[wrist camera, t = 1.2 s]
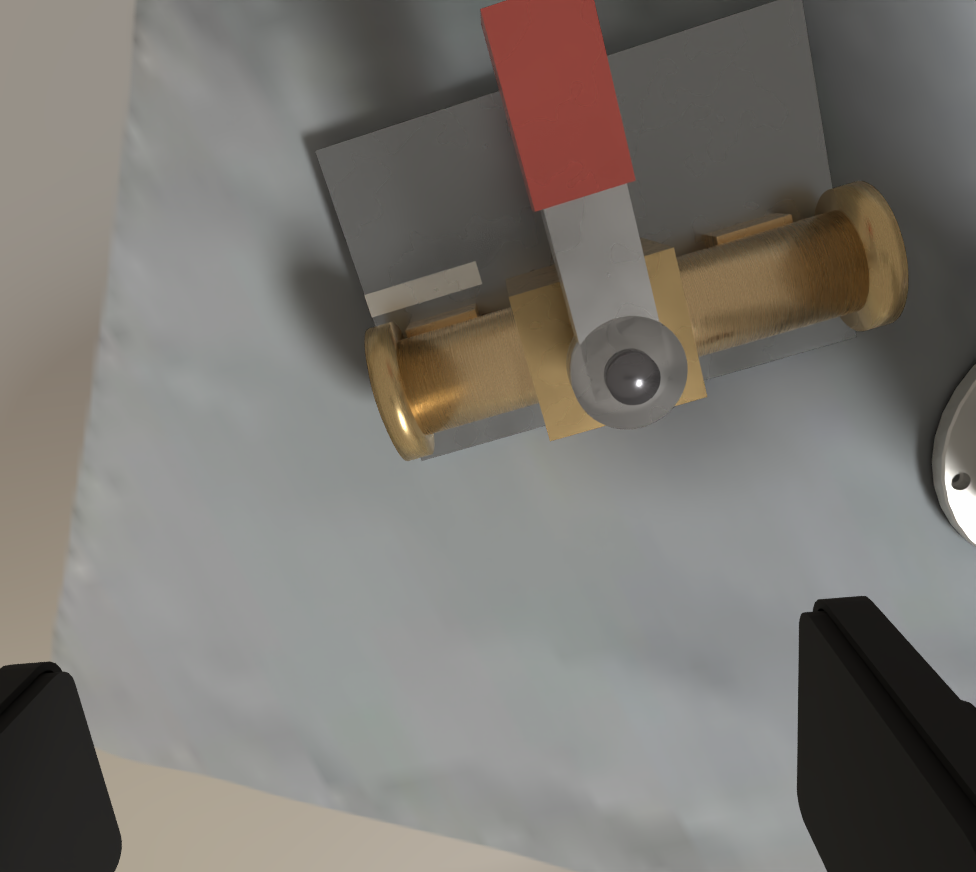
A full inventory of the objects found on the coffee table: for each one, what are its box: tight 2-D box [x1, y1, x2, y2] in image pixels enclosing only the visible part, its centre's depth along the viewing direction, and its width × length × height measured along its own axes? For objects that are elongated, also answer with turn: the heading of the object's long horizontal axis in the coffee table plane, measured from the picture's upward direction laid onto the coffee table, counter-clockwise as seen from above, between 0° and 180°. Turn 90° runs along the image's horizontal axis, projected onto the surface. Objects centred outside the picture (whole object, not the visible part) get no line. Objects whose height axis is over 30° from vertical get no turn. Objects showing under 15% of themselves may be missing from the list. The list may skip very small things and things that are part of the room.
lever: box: [480, 0, 688, 429], centre depth 23 cm, size 4×13×3 cm, turn 17°
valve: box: [315, 0, 908, 461], centre depth 29 cm, size 20×14×9 cm
